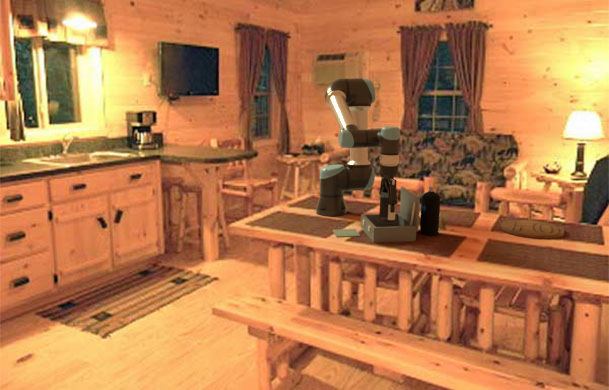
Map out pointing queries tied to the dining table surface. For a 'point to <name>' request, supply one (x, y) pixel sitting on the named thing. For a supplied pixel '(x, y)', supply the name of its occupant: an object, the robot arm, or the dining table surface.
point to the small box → (384, 207)
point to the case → (395, 221)
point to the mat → (346, 233)
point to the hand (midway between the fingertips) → (387, 215)
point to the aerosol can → (430, 213)
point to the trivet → (532, 229)
